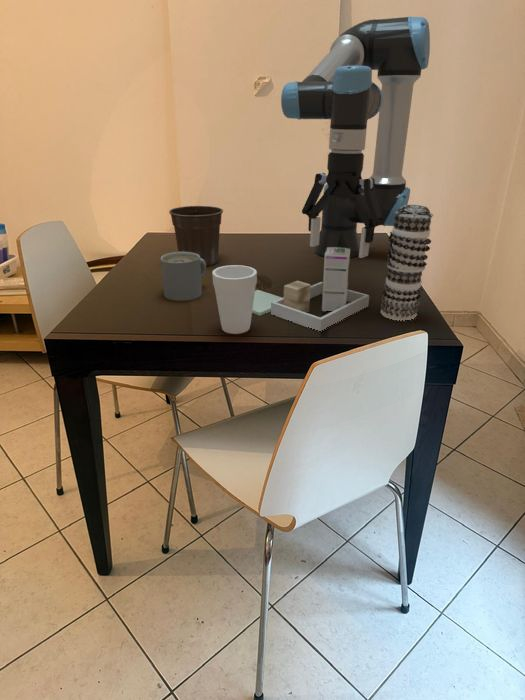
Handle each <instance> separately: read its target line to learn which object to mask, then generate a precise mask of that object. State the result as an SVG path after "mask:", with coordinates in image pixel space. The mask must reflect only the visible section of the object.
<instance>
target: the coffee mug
mask: <svg viewBox="0 0 525 700" xmlns="http://www.w3.org/2000/svg"><path fill="white" fill-rule="evenodd" d="M160 269H161V276H162V277H161V278H162V279H161V280H162V288H163V296H164V298H165V299H167V300H170V301H175V302H187V301H193V300H196V299H198V298H200V297H201V296H202V295H203V286H202V285H203V283H202V280H203V279H204V278H205V276H206V273H207V266H206V263H205V261H204V260H203V259H202V258H200V256H199V255H198V254H196V253H192V252H178V251H174V252H168V253H164V254H163V255H161V257H160Z"/></svg>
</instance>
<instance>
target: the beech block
mask: <svg viewBox="0 0 525 700" xmlns="http://www.w3.org/2000/svg"><path fill="white" fill-rule="evenodd" d="M311 286H312V285H311V284H310V283H307V282H303V281H300V280H296V281H292V282H290V283H288V284H285V285H283V297H284V305H285V306H288V307H291V308H294V309H297V310H300V311H302V312H305V313H307V312H308V313H310V304H311V299H310V288H311Z"/></svg>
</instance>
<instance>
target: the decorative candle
mask: <svg viewBox="0 0 525 700" xmlns="http://www.w3.org/2000/svg"><path fill="white" fill-rule="evenodd" d="M395 214H396V215H395V223H394V226H392V230H391V231H390V232H389V233H390V234H389V236H388V242H390V243H389V244H388V246H387V248H388V251H387V252H386V254H387V258H388V259H387V261H386V266H387V268H388V269H387V275H386V278H385V284H383V288H384V289H383V291H382V294H383V296H382V298H381V302H382V303H381V304H380V308H381V309H380V315H381V314H382V315H381V316H383V317H384V318H387V319H388V318H389V320H391V319H392V320H393V321H396V320H397V322H406V321H405V320H410V321H412V320H411V319H413V320H415V319H416V318H417V317H416V316H418V311H419V308H418V307H419V306H420V302H419V301H420V298H421V292H422V276H423V271H425V269H426V266H427V265H428V264H427V262H426V261H425V260H427V259H428V255H427V254H426V252H428V251H430V250H431V247H430V246H428V245H430V244H431V243H432V240H431V239H430V238H429V237H430V235H431V234H430V233H431V227H430V226H431V224H432V218H433V217H434V214H433V213H431V211H430V209H429V207H427V206H426V205H425V206H424V205H420V204H407V205H404V206H402V207H401V208H400V209H399V210H398V211H397V212H395ZM415 317H416V318H415ZM414 318H415V319H414ZM399 320H400V321H399ZM402 320H403V321H402Z"/></svg>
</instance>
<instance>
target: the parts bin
mask: <svg viewBox="0 0 525 700" xmlns="http://www.w3.org/2000/svg"><path fill="white" fill-rule="evenodd" d="M320 295H323V281H320V282H317V283H315V284H312V285H311V288H310V300H311V299H312V298H315V297H318V296H320ZM347 301H348V302H347V303H346V305H345V306H343V307H341V308H339V309H337V310H335V311H333V312H328V313H327V314H325V315H322V316H321V317H320V316H316V315H314V314H311V313H309V312H308V313H305V312H302V311H300V310H297V309H294V308H291V307H288V306H285V305H284V296H283V297H282V298H281V299H278V300H276V301H273V302H271V311H270V315H272V316H274V315H275V317H277V318H280V319H283V320H286V321H288V320H289V322H291V321H292V322H291V323H295V324H296V325H299V326H303V327H305V328H308V327H309V328H308V329H310V328H312V329H311V330H313V329H315V330H314V331H316V330H318V331H317V332H319V331H321V332H323V331H325V330H327V329H328V328H327V327H329V326H331V325H333V324H335V323H336V324H338V323H340V322H342V321H344V320H345V319H344V318H346V317H348V316H350V315H352V314H353V315H355V314H357V313H359V312H361V311H363V310H364V308H365V309H366V307H367V308H368V307H369V303H370V302H369V301H370V295H369V294H366V293H362V292H359V291H356V290H351V289H348V290H347ZM350 302H351V303H350ZM362 309H363V310H362ZM360 310H361V311H360ZM358 311H359V312H358ZM356 312H357V313H356ZM354 313H355V314H354ZM353 315H352V316H353ZM350 317H351V316H350ZM348 318H349V317H348ZM343 319H344V320H343ZM346 319H347V318H346ZM341 320H342V321H341ZM339 321H340V322H339ZM337 322H338V323H337ZM336 324H335V325H336ZM333 326H334V325H333ZM331 327H332V326H331ZM326 328H327V329H326ZM329 328H330V327H329ZM324 329H325V330H324ZM322 330H323V331H322Z"/></svg>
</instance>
